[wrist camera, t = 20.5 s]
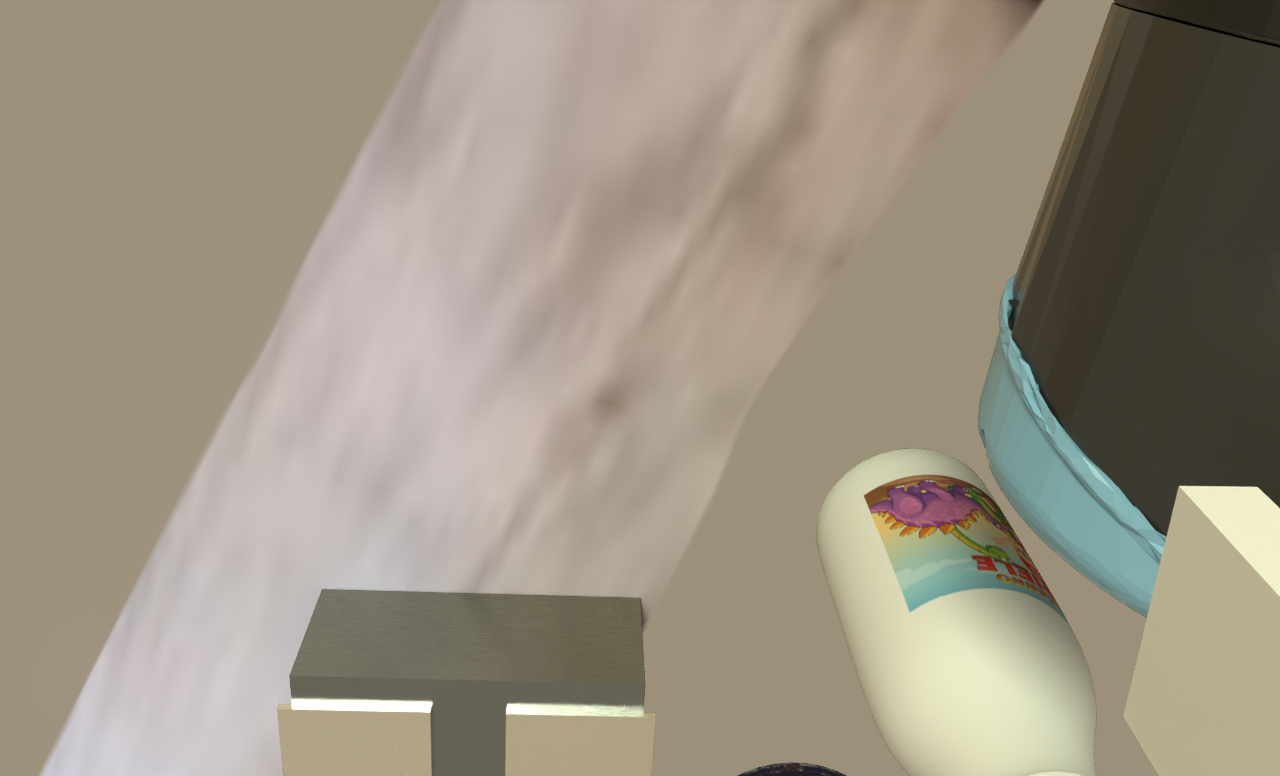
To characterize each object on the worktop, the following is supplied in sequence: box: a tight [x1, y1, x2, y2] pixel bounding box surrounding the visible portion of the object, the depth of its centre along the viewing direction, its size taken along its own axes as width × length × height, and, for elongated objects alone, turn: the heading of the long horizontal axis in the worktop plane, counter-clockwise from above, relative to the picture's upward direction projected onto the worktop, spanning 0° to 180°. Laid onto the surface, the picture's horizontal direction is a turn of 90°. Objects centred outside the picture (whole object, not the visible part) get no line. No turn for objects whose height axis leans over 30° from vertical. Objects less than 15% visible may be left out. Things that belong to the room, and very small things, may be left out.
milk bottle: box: [816, 448, 1096, 776], centre depth 42 cm, size 8×8×20 cm
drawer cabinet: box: [277, 589, 656, 776], centre depth 51 cm, size 15×8×6 cm, turn 87°
